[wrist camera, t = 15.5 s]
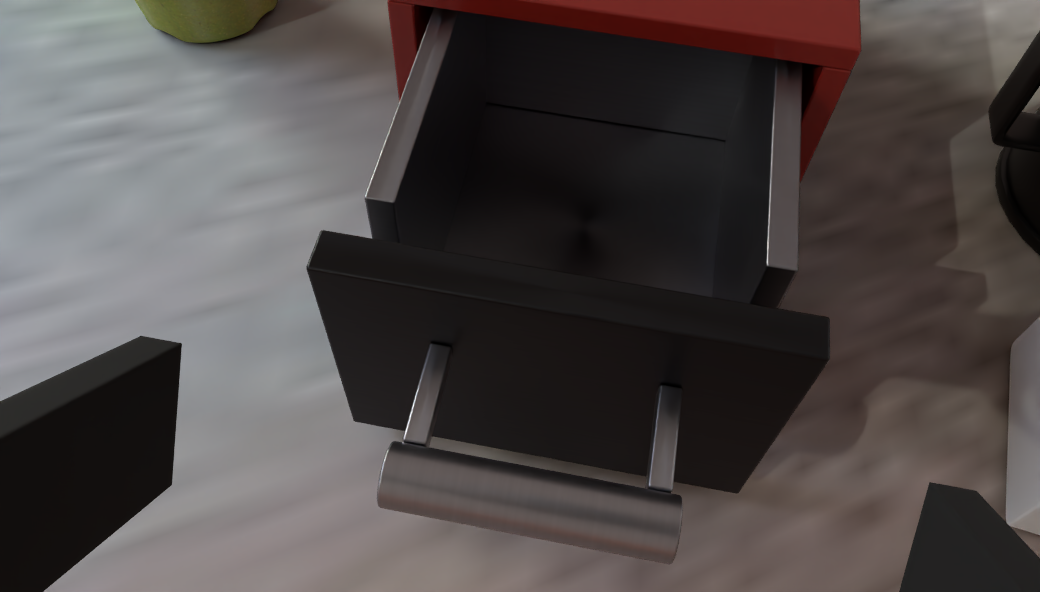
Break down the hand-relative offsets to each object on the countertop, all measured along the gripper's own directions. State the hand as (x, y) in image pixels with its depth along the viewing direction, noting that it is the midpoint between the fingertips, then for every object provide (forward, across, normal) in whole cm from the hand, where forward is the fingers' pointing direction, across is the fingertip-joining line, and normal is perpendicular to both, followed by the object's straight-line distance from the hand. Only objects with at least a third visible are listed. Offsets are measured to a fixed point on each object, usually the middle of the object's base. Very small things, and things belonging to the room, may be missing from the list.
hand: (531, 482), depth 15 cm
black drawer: (+15, 0, -1) cm, 15 cm away
